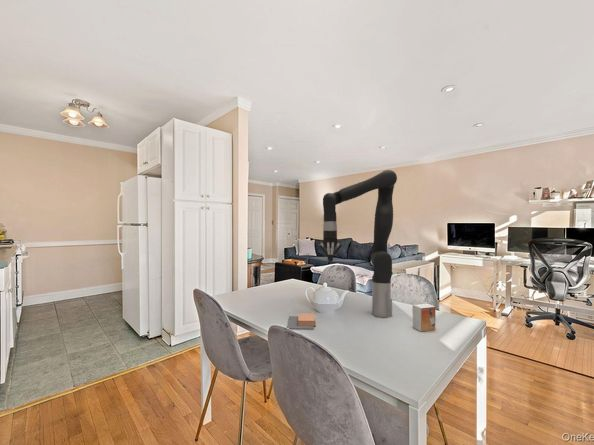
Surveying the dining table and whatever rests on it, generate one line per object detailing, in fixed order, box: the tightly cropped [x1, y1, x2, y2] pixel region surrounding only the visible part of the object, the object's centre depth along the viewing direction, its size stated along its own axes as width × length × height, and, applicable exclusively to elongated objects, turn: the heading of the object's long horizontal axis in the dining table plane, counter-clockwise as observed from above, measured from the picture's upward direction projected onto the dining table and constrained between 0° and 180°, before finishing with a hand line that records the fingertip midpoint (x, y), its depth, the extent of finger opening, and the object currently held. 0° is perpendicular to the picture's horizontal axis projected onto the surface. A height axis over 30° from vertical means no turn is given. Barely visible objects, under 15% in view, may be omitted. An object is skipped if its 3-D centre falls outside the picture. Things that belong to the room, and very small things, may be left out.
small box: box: [412, 303, 436, 333], centre depth 120 cm, size 8×6×10 cm
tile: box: [297, 312, 316, 327], centre depth 128 cm, size 2×10×8 cm
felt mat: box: [286, 315, 315, 330], centre depth 128 cm, size 12×16×1 cm
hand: (330, 261), depth 146 cm, fingers closed
